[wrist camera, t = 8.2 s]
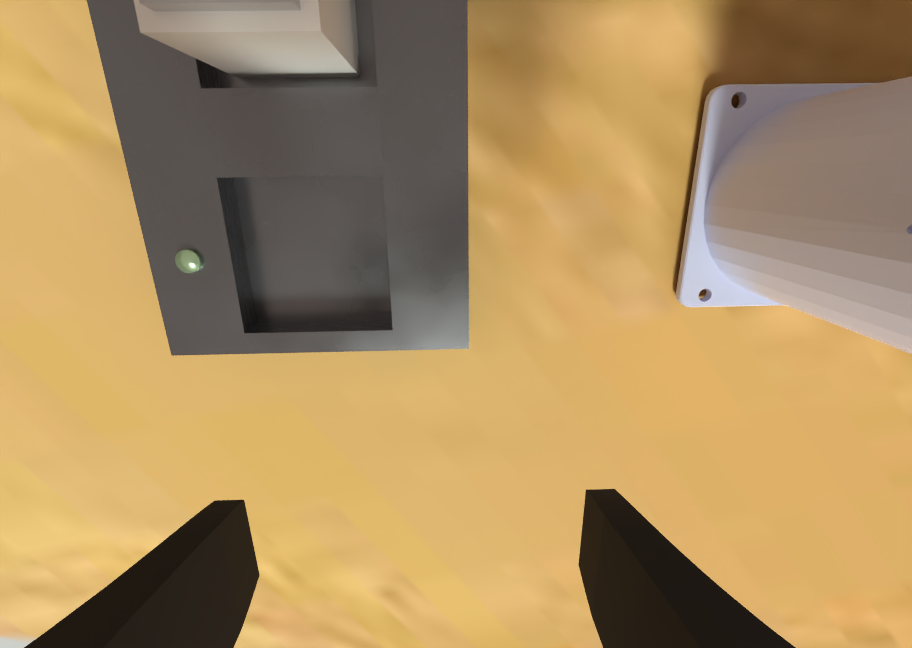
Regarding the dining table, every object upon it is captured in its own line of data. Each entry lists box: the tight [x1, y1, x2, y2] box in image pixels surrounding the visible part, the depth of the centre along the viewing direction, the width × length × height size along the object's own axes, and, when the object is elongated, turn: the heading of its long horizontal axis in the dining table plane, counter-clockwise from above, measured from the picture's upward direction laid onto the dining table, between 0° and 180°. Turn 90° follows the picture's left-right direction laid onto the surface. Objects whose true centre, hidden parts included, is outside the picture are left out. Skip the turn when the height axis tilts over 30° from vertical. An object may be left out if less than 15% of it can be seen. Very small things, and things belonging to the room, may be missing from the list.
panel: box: [87, 0, 469, 355], centre depth 15 cm, size 11×15×2 cm
